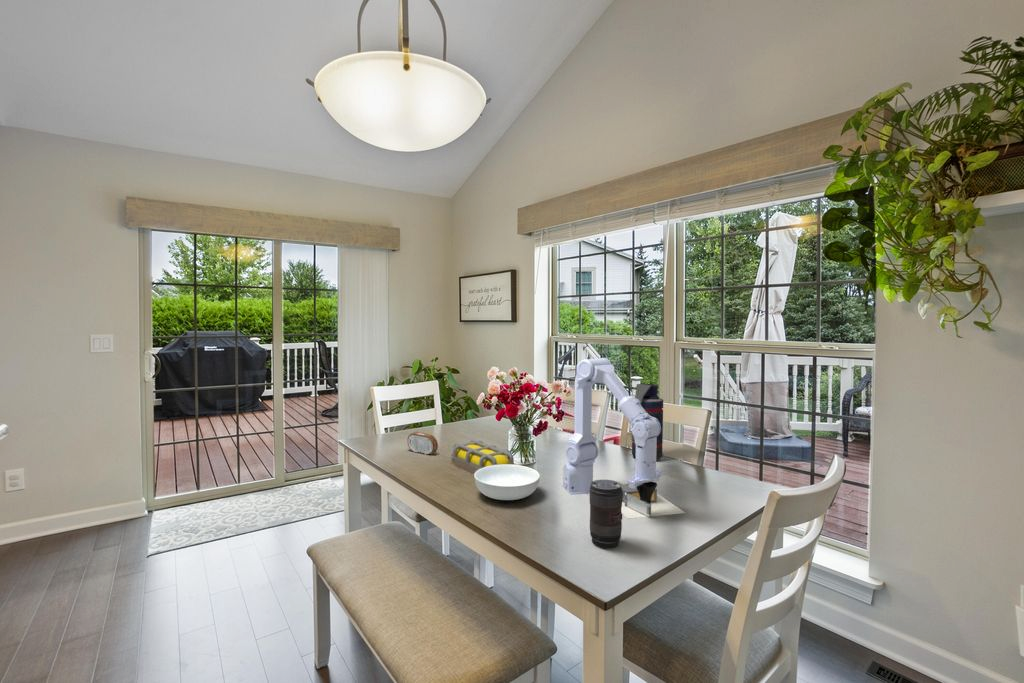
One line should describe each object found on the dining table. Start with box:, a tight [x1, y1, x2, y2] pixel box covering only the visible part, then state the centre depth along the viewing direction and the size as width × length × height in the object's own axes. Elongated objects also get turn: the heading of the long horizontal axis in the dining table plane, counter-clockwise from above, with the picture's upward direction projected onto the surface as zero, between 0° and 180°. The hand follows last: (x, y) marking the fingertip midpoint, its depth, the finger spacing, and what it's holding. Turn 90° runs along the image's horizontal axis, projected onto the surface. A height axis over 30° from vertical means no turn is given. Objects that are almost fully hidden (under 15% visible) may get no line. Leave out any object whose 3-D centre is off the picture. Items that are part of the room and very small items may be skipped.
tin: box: [407, 431, 439, 455], centre depth 199 cm, size 15×3×8 cm, turn 58°
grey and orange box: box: [621, 483, 658, 503], centre depth 148 cm, size 11×6×5 cm, turn 103°
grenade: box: [631, 383, 664, 460], centre depth 192 cm, size 14×12×30 cm
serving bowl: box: [473, 464, 541, 501], centre depth 153 cm, size 21×21×7 cm
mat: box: [621, 493, 686, 519], centre depth 144 cm, size 18×16×1 cm
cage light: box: [451, 439, 515, 475], centre depth 180 cm, size 15×8×30 cm
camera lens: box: [589, 479, 623, 550], centre depth 120 cm, size 8×8×15 cm
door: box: [625, 493, 652, 518], centre depth 139 cm, size 10×1×4 cm, turn 29°
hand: (645, 506), depth 138 cm, fingers closed, pressing on door
